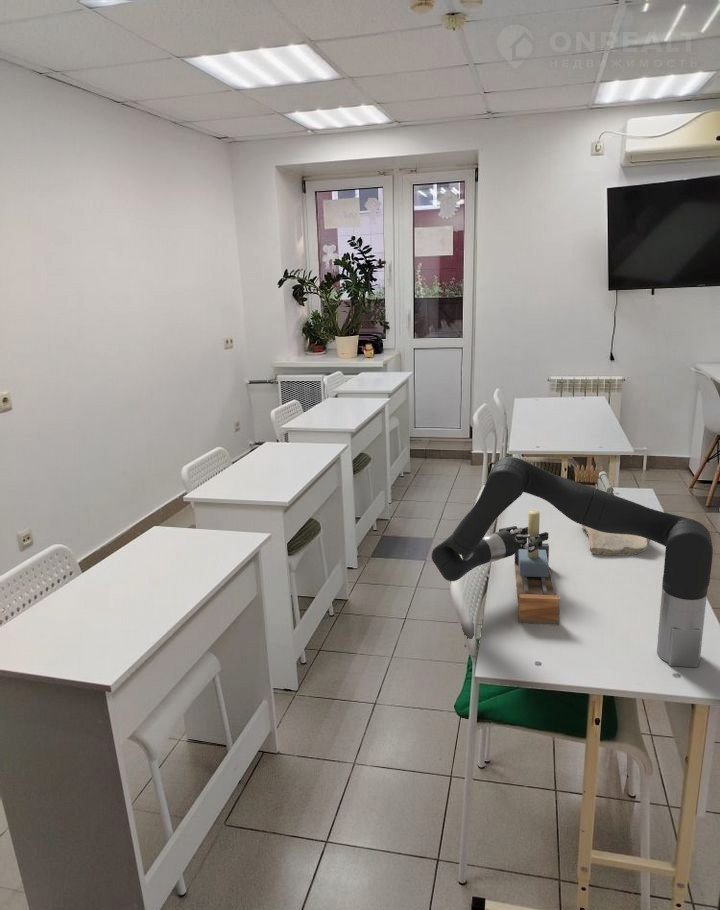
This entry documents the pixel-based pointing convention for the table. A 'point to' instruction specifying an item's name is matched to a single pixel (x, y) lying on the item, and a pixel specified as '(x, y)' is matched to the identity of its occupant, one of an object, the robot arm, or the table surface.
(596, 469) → the ammunition clip
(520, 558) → the carriage
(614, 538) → the beige bone fragment
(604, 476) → the geiger counter
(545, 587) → the rail
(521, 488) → the robot arm
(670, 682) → the table surface
